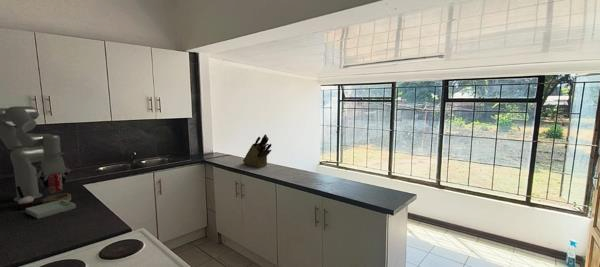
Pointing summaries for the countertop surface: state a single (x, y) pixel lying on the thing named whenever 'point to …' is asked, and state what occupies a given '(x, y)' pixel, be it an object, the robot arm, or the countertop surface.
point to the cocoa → (24, 200)
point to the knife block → (258, 153)
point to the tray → (50, 208)
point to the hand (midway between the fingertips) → (54, 184)
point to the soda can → (54, 183)
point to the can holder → (56, 198)
